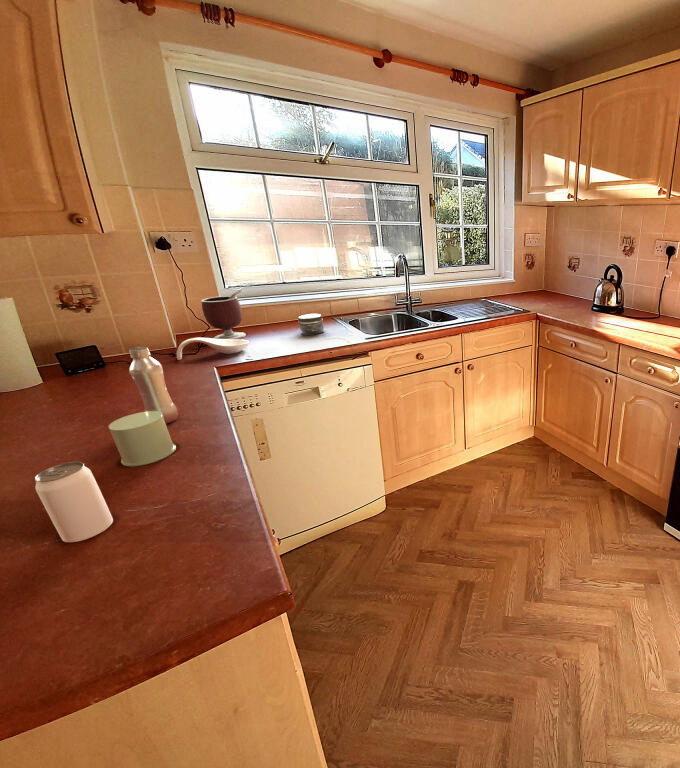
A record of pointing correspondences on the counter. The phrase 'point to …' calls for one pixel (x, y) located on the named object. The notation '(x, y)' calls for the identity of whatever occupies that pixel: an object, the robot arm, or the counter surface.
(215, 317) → the mate gourd
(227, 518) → the counter surface
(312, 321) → the jar
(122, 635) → the counter surface
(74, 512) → the can
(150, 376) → the plastic bottle
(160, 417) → the cup
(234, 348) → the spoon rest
